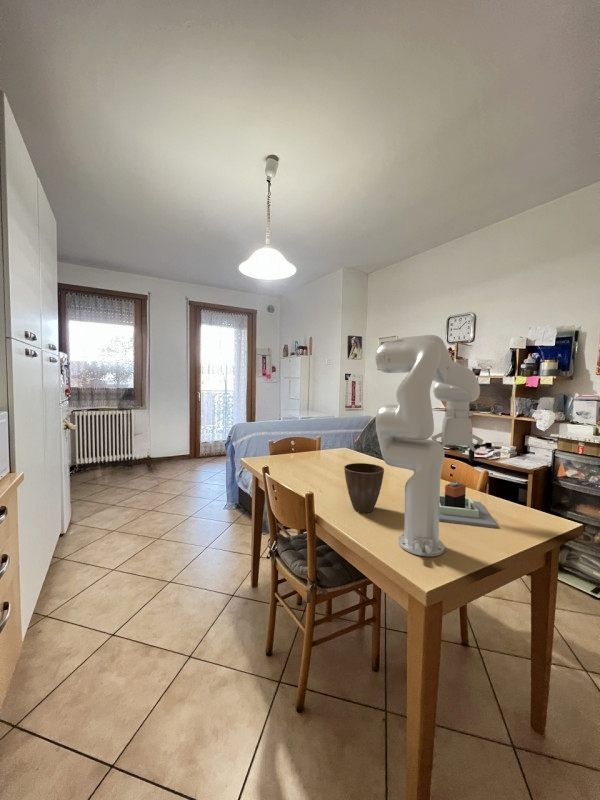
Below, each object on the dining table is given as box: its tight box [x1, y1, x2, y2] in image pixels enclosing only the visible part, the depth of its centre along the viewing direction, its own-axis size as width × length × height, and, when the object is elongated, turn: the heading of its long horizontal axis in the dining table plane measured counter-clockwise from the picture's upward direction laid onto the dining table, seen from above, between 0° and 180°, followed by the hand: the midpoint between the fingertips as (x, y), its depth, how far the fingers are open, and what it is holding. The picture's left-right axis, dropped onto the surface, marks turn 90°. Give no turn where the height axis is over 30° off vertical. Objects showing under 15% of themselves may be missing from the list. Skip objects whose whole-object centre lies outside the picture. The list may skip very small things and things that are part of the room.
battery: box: [444, 481, 467, 508], centre depth 118 cm, size 4×7×10 cm, turn 121°
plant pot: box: [343, 462, 385, 514], centre depth 120 cm, size 15×15×16 cm
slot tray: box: [439, 494, 498, 529], centre depth 118 cm, size 22×22×4 cm
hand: (456, 460), depth 117 cm, fingers open, 9 cm apart
